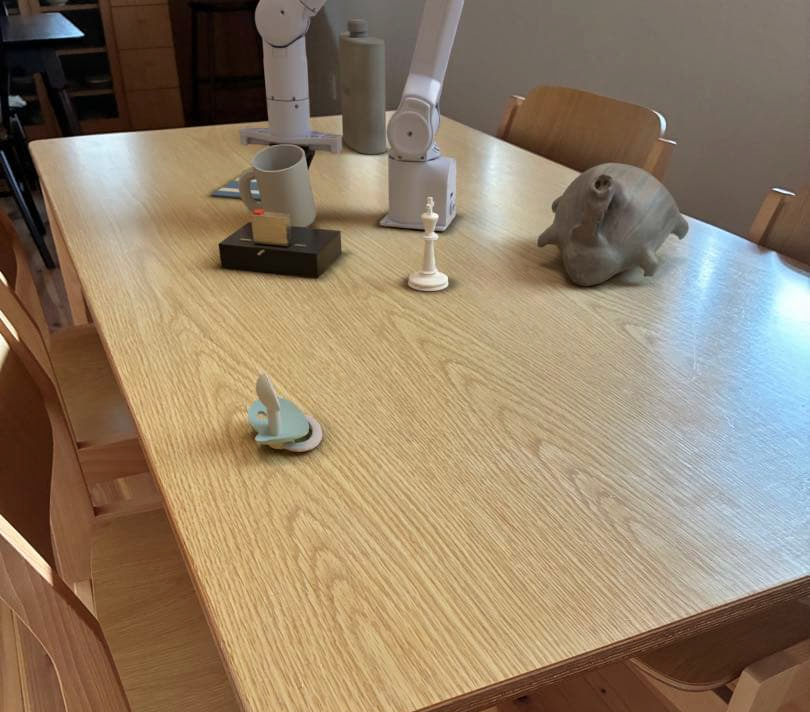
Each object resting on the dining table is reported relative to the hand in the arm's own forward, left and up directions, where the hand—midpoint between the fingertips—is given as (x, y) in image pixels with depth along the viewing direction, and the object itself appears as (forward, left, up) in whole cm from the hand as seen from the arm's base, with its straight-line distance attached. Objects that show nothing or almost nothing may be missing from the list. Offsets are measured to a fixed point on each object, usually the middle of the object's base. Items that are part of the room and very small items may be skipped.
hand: (294, 201), depth 118 cm
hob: (-5, +19, -2) cm, 20 cm away
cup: (0, +5, -1) cm, 5 cm away
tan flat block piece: (-5, +21, +1) cm, 21 cm away
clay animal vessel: (-44, +8, -2) cm, 45 cm away
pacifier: (-22, +59, -2) cm, 63 cm away
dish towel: (+12, -11, -2) cm, 16 cm away
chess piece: (-25, +21, -2) cm, 33 cm away
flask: (+4, -43, -2) cm, 44 cm away
